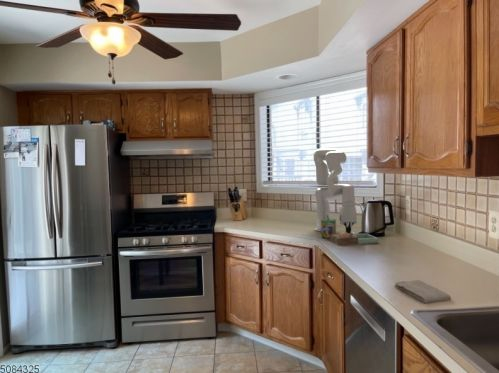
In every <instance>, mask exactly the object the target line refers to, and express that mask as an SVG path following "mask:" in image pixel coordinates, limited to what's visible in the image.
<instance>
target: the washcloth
mask: <svg viewBox="0 0 499 373" xmlns="http://www.w3.org/2000/svg"><path fill="white" fill-rule="evenodd" d="M394 287H395V288H396V289H397V290H398V291H400V292H402V293H403V294H405V295H408V296H409V297H411V298H413V299H414V300H416V301H418V302H420V303H422V304H430V303H436V301H437V302H444V301H450V300H451V299H452V298H451V295H450V294H449V293H447V292H446V291H442V290H441V289H439V288H437V287H436V286H433V285H431V284H429V283H426V282H424V281H422V280H420V279H413V280H410V281H407V280H406V281H404V280H403V281H397V282H395V284H394Z"/></svg>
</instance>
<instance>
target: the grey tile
mask: <svg viewBox="0 0 499 373" xmlns="http://www.w3.org/2000/svg"><path fill="white" fill-rule="evenodd" d="M349 234H351V235H353V236H355V237H357V234H358V233H357V232H354V231H351V233H349Z"/></svg>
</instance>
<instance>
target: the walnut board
mask: <svg viewBox="0 0 499 373" xmlns="http://www.w3.org/2000/svg"><path fill="white" fill-rule="evenodd" d="M329 240H330V241H331V242H333V243H334V244H336V245H338V246H351V245H352V246H354V245H359V244H358V238H357V237H355V236H353V235H351V234H350V233H349V238H341V237H340V236H339V233H336V234H330V238H329Z"/></svg>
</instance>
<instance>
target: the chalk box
mask: <svg viewBox="0 0 499 373" xmlns="http://www.w3.org/2000/svg"><path fill="white" fill-rule="evenodd" d="M327 218H328V219H323V220H322V221H321V226H322V231H321V238H324V239H325V238H326V239H330V234H337V219H335V218H334V219H333V218H330V219H329V217H328V215H327Z"/></svg>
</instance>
